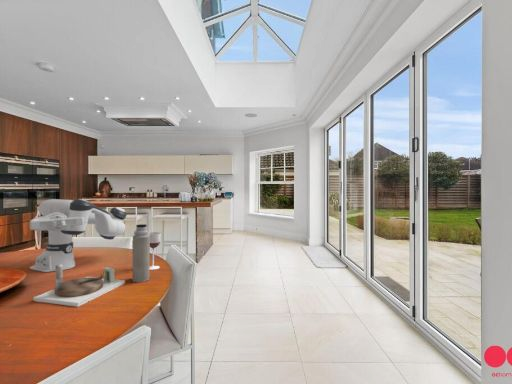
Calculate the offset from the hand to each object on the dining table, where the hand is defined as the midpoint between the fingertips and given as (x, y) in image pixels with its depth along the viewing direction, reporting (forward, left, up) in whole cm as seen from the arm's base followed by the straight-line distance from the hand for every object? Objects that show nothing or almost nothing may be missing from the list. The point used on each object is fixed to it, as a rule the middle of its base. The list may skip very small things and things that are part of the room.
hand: (59, 223), depth 122 cm
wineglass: (+19, +43, -30) cm, 56 cm away
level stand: (+10, +3, -30) cm, 32 cm away
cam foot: (+10, +1, -29) cm, 30 cm away
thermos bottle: (+25, +23, -30) cm, 46 cm away
